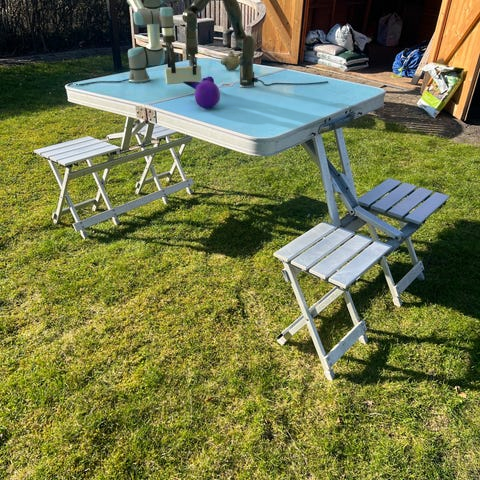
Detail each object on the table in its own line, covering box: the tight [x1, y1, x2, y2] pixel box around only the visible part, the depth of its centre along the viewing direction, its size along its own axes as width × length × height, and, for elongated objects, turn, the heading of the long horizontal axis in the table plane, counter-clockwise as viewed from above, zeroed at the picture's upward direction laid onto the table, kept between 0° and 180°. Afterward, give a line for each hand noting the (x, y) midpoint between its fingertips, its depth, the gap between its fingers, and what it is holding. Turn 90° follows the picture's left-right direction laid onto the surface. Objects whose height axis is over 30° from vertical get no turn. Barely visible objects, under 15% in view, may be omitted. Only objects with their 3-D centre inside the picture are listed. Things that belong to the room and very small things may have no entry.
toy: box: [182, 75, 221, 110], centre depth 265 cm, size 16×18×27 cm
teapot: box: [220, 50, 242, 72], centre depth 368 cm, size 21×12×15 cm, turn 120°
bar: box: [164, 64, 203, 85], centre depth 291 cm, size 23×6×9 cm, turn 107°
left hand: (171, 71), depth 288 cm, fingers open, 13 cm apart
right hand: (193, 73), depth 293 cm, fingers closed on bar, 5 cm apart
